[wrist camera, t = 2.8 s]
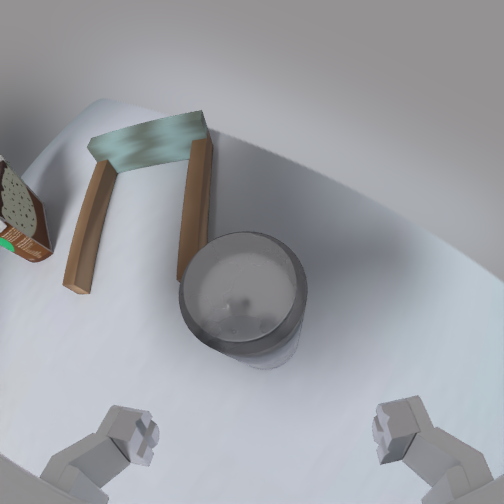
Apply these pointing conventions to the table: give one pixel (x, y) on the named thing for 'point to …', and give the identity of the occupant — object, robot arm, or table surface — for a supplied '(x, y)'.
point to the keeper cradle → (138, 156)
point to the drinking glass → (245, 298)
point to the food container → (22, 217)
